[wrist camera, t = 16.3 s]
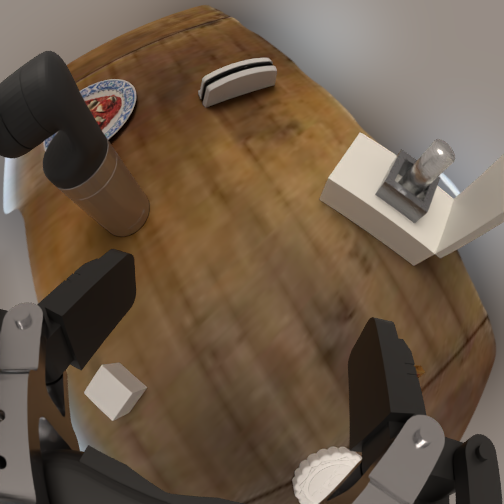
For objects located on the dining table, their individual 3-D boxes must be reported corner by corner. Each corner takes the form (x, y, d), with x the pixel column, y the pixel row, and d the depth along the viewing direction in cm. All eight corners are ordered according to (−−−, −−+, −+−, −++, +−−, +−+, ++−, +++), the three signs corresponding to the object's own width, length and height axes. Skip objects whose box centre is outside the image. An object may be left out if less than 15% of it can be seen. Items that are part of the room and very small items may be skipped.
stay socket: (374, 194, 40) (384, 181, 36) (391, 163, 42) (401, 149, 38) (414, 223, 38) (427, 212, 35) (428, 189, 40) (439, 177, 36)
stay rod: (391, 193, 40) (431, 150, 28) (397, 178, 41) (435, 134, 29) (409, 207, 39) (453, 168, 28) (415, 191, 40) (456, 151, 29)
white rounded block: (264, 73, 57) (273, 48, 48) (274, 88, 58) (284, 64, 48) (196, 95, 55) (195, 70, 46) (204, 111, 56) (204, 88, 46)
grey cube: (102, 388, 39) (83, 392, 33) (119, 362, 40) (101, 364, 34) (129, 412, 38) (112, 421, 32) (147, 387, 39) (132, 393, 33)
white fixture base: (319, 199, 47) (368, 73, 22) (351, 153, 50) (399, 38, 24) (418, 269, 44) (531, 203, 18) (439, 216, 46) (529, 137, 21)
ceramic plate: (88, 83, 60) (85, 76, 57) (159, 89, 57) (156, 80, 54) (32, 155, 53) (26, 149, 51) (95, 176, 50) (88, 168, 47)
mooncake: (331, 511, 32) (336, 521, 28) (276, 486, 34) (278, 496, 30) (377, 462, 34) (385, 469, 31) (325, 433, 37) (330, 440, 33)
